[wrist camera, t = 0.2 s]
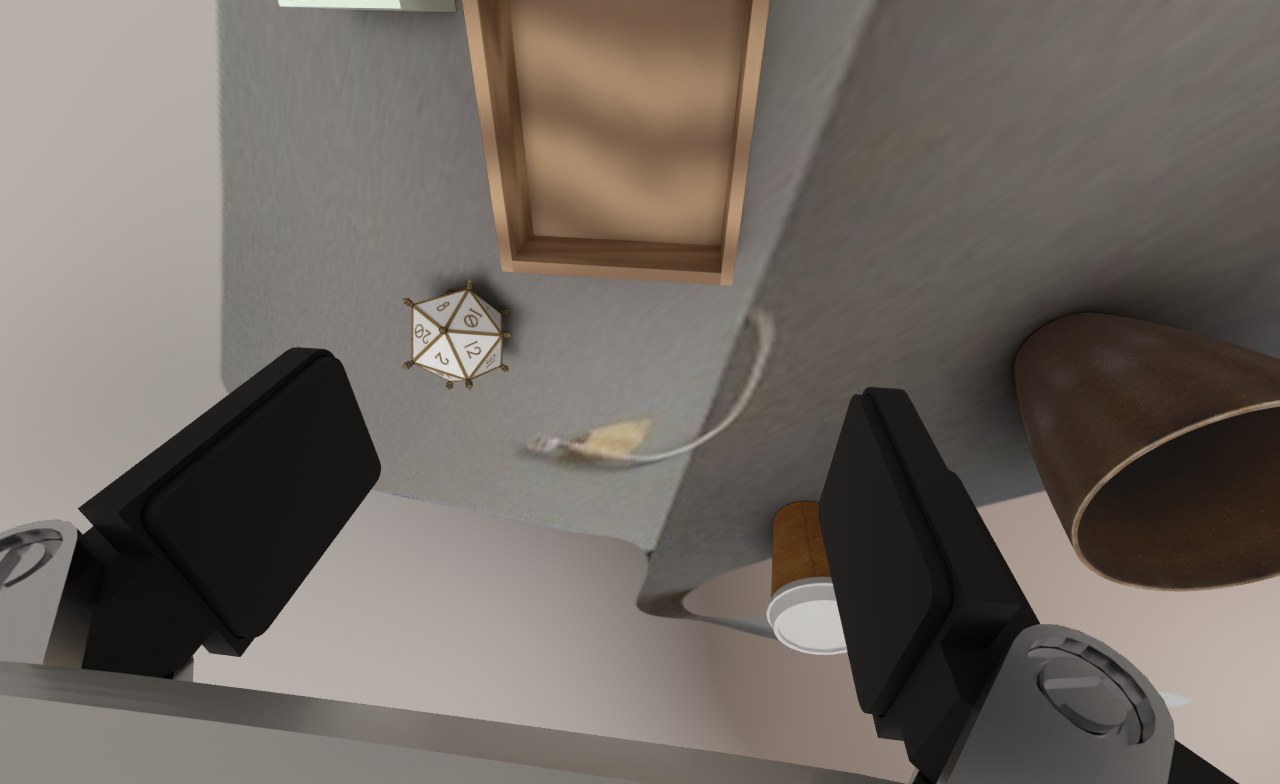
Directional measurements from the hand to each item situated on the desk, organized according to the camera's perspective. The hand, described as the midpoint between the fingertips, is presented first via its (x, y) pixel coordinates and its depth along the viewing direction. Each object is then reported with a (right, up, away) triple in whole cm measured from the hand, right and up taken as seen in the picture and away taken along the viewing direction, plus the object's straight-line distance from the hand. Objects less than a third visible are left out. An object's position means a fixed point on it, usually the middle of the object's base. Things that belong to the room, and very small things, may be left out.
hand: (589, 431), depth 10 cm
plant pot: (+35, +4, +31) cm, 46 cm away
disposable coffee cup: (+18, -13, +45) cm, 50 cm away
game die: (-13, +8, +35) cm, 38 cm away
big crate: (0, +19, +25) cm, 31 cm away
